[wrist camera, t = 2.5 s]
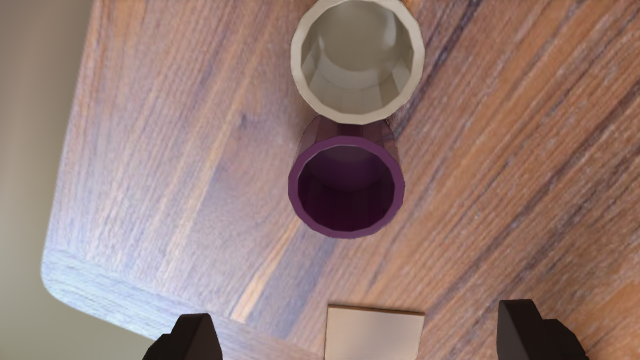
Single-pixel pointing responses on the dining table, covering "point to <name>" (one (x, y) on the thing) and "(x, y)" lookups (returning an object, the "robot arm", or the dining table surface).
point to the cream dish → (357, 58)
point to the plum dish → (346, 178)
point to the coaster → (372, 334)
